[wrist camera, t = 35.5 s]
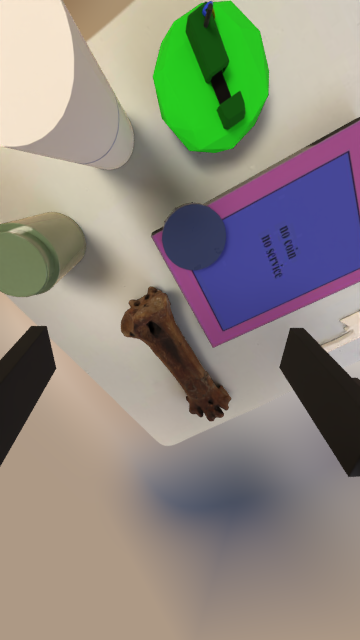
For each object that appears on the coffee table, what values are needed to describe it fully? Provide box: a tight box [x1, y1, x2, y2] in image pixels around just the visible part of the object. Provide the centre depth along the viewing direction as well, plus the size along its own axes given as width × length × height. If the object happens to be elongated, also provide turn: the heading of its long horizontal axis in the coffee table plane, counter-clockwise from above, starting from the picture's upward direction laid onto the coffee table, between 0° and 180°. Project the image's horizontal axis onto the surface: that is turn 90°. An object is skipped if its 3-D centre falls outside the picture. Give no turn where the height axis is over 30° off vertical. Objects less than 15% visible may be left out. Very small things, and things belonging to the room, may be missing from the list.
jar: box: [0, 212, 86, 297], centre depth 32 cm, size 8×8×13 cm
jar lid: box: [162, 202, 226, 270], centre depth 35 cm, size 8×8×2 cm
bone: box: [121, 287, 231, 421], centre depth 45 cm, size 9×8×30 cm
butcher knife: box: [321, 311, 360, 353], centre depth 47 cm, size 5×15×1 cm, turn 121°
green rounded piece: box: [153, 1, 269, 153], centre depth 27 cm, size 12×12×11 cm
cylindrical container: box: [0, 0, 134, 170], centre depth 22 cm, size 7×7×25 cm
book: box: [151, 117, 360, 348], centre depth 39 cm, size 21×3×30 cm
